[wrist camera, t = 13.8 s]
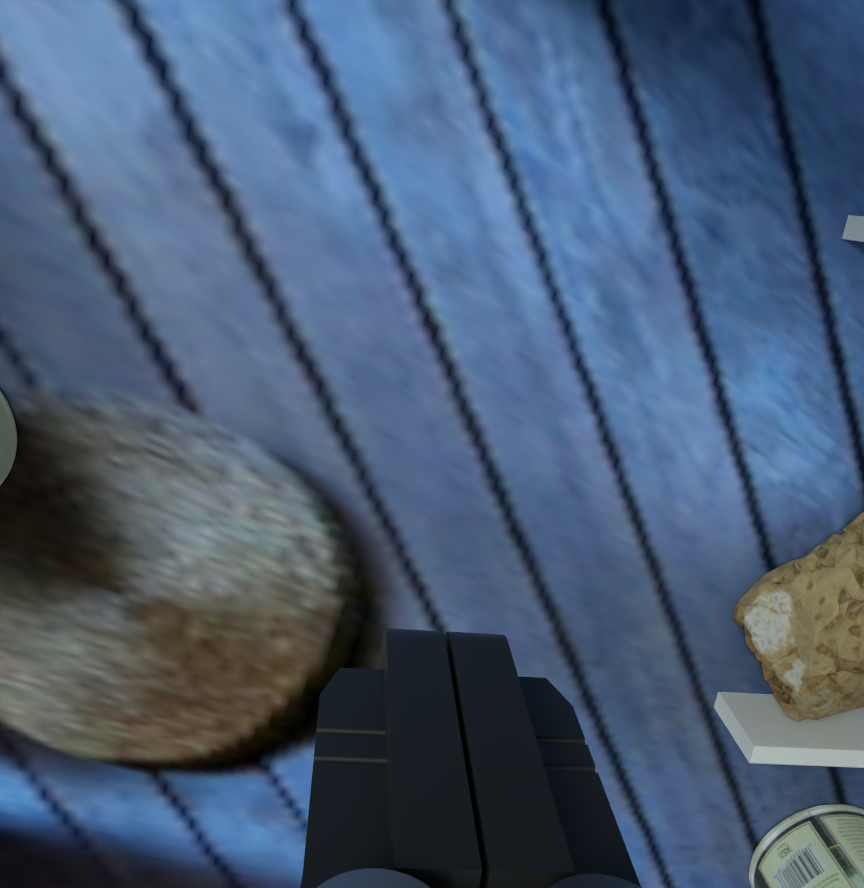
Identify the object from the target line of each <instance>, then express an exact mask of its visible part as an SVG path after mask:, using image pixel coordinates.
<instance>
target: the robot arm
mask: <svg viewBox="0 0 864 888" xmlns="http://www.w3.org/2000/svg"><path fill="white" fill-rule="evenodd" d="M300 888H642V887H641V885H640V883H639V881H638V878H637V875H636V873H635V870H634V867H633V865H632V862H631V859H630V857H629V854H628V852H627V849H626V846H625V844H624V841H623V838H622V836H621V833H620V830H619V828H618V825H617V822H616V820H615V817H614V814H613V812H612V809H611V806H610V804H609V801H608V798H607V796H606V793H605V791H604V788H603V785H602V783H601V780H600V777H599V775H598V773H595V764H594V761H593V759H592V756H591V753H590V751H589V748H588V745H585V738H584V735H583V732H582V730H581V727H580V724H579V722H578V719H577V716H576V714H575V711H574V708H573V706H572V705H571V704H570V703H569V702H568V701H567V700H566V699H565V698H564V697H563V695H562V694H561V693H560V692H559V691H558V690H557V689H556V688H555V687H554V686H553V685H552V684H551V683H550V682H549V681H548V680H547V679H546V678H534V677H518V675H517V671H516V668H515V664H514V661H513V658H512V654H511V651H510V647H509V644H508V641H507V638H506V636H505V635H497V634H480V633H462V632H446V634H445V635H444V633H443V632H441V631H423V630H406V629H388V628H386V629H385V631H384V637H383V644H382V653H381V663H380V670H375V669H355V668H340V669H339V670H338V671H337V673H336V674H335V675H334V677H333V678H332V679H331V681H330V682H329V683H328V685H327V686H326V687H325V688H324V690H323V691H322V692H321V694H320V701H319V711H318V721H317V733H316V742H315V753H314V763H313V774H312V784H311V795H310V805H309V815H308V826H307V836H306V847H305V857H304V868H303V877H302V882H301V887H300Z"/></svg>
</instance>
